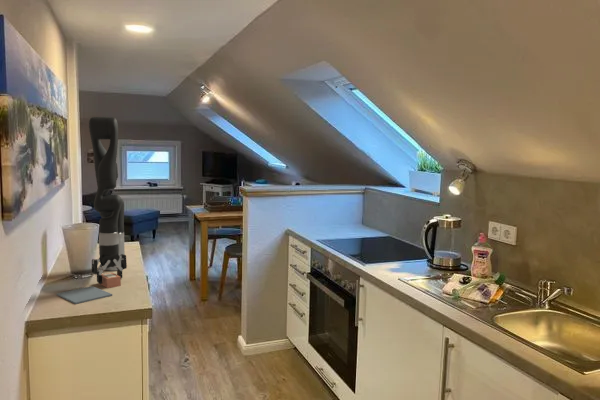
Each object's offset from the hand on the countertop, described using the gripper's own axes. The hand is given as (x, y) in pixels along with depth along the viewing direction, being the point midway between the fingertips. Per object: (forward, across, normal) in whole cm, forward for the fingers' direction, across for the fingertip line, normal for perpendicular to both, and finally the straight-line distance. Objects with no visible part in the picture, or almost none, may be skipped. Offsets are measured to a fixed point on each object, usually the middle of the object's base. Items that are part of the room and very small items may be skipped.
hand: (109, 281), depth 195 cm
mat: (+1, +14, +7) cm, 16 cm away
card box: (+2, 0, 0) cm, 2 cm away
